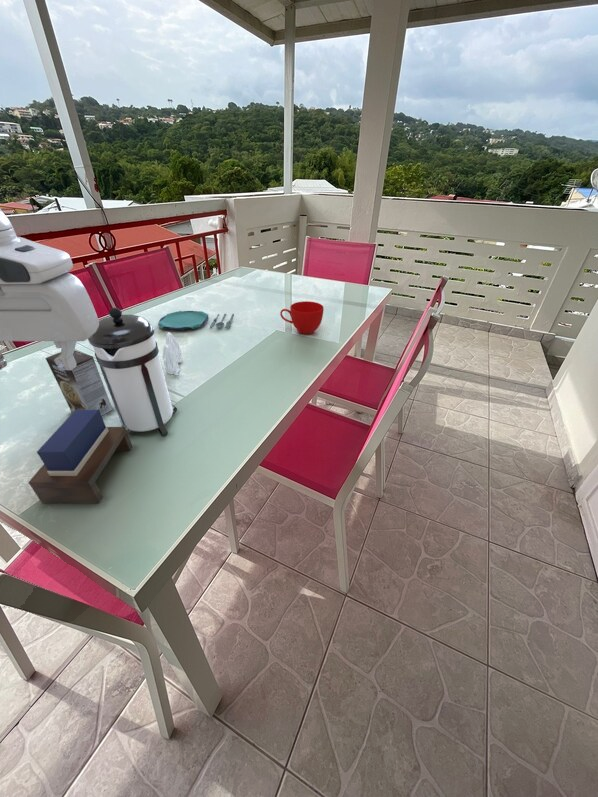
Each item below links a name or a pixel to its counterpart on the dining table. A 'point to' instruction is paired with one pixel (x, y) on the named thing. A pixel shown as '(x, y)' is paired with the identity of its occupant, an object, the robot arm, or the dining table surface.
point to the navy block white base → (73, 443)
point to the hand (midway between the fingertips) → (33, 368)
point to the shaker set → (171, 355)
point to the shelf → (81, 473)
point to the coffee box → (81, 384)
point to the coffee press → (133, 371)
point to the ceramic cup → (305, 316)
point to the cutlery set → (189, 320)
